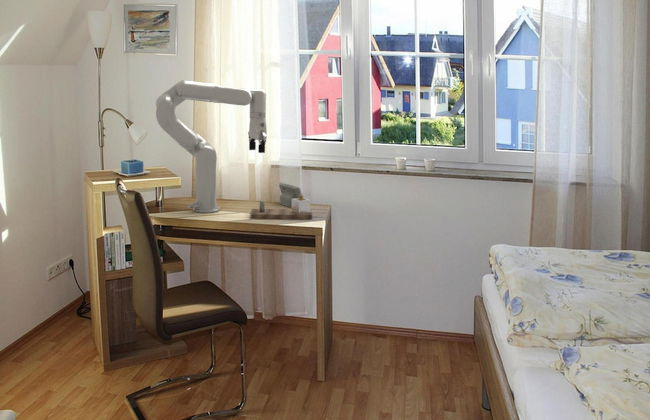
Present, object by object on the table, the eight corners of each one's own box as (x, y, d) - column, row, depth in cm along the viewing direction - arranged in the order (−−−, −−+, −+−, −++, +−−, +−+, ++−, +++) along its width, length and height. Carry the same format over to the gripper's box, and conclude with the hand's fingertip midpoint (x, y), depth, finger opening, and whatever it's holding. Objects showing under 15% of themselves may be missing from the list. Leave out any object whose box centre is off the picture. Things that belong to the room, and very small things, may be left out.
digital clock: (306, 207, 369) (306, 186, 366) (289, 209, 365) (289, 187, 362) (292, 201, 383) (292, 180, 380) (276, 202, 379) (276, 181, 376)
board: (250, 218, 342) (250, 197, 340) (251, 212, 354) (251, 192, 352) (311, 219, 344) (312, 197, 342) (311, 213, 356) (311, 192, 354)
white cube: (298, 214, 345) (298, 201, 344) (291, 211, 350) (291, 198, 349) (310, 212, 348) (310, 199, 347) (303, 209, 353) (303, 197, 352)
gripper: (273, 117, 350) (272, 153, 353) (256, 113, 364) (255, 148, 367) (258, 117, 346) (258, 154, 349) (242, 113, 360) (241, 149, 363)
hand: (256, 151), depth 358 cm, fingers open, 9 cm apart
